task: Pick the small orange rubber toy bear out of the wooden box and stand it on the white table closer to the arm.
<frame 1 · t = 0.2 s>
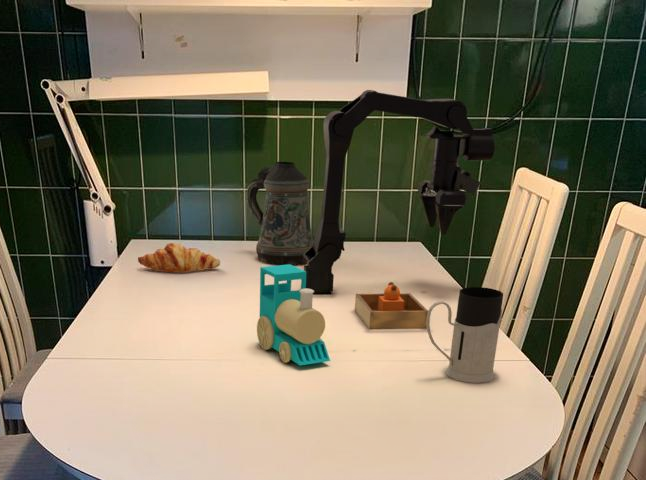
hand: (437, 230, 193), 15 cm above the table, tool pointing down, fingers open, 9 cm apart
wooden box: (389, 321, 177), on the table
croissant: (179, 270, 213), on the table
glass holder: (456, 376, 149), on the table
toy train: (293, 355, 156), on the table
toy bear: (389, 318, 177), point 1 cm above the table, touching wooden box
beer stein: (280, 259, 227), on the table
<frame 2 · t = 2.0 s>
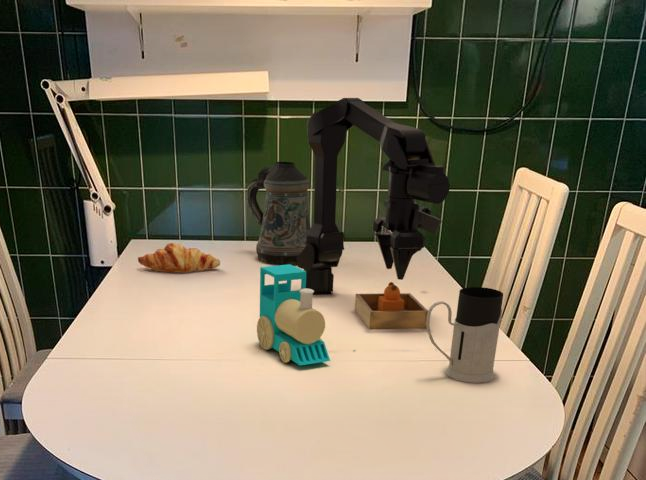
hand: (394, 273, 173), 10 cm above the table, tool pointing down, fingers open, 9 cm apart
nothing on the table moved.
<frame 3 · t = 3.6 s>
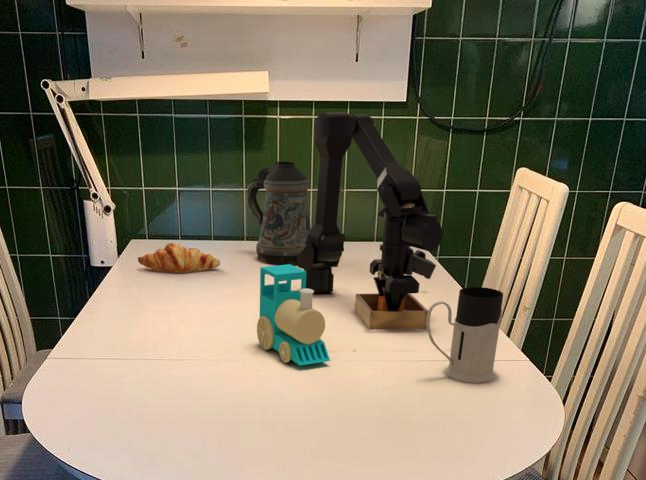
hand: (389, 315, 177), 1 cm above the table, tool pointing down, fingers closed on toy bear, 4 cm apart
toy bear: (389, 318, 177), point 1 cm above the table, touching wooden box, gripper
everything else where it was.
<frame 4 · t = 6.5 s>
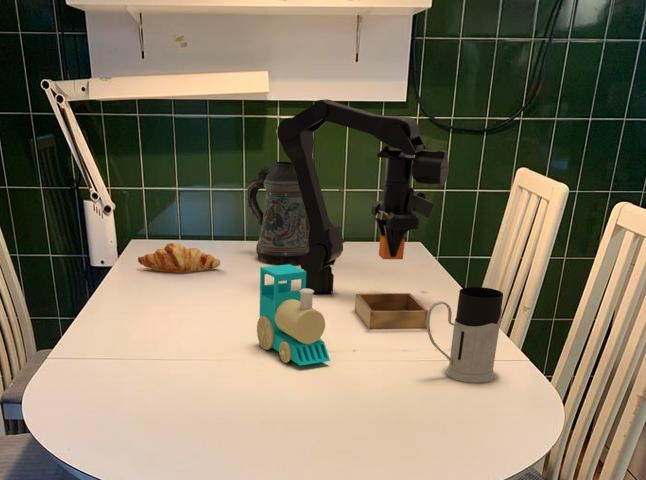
hand: (390, 254, 184), 11 cm above the table, tool pointing down, fingers closed on toy bear, 4 cm apart
toy bear: (390, 257, 184), point 11 cm above the table, touching gripper
everything else where it was.
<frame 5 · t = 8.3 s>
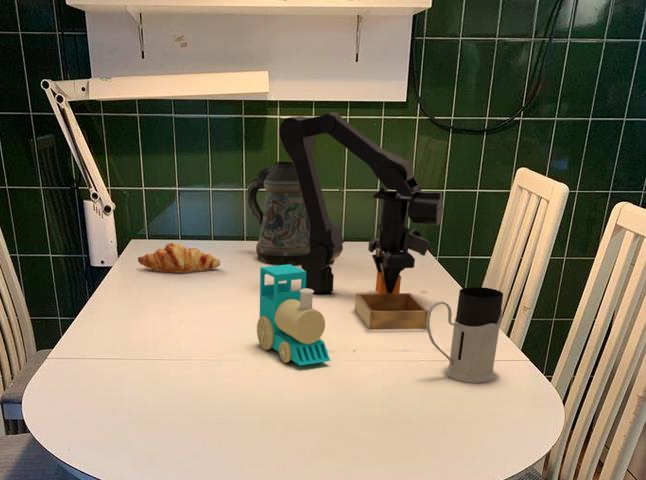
hand: (387, 290, 189), 3 cm above the table, tool pointing down, fingers closed on toy bear, 4 cm apart
toy bear: (387, 293, 189), point 2 cm above the table, touching gripper
everything else where it was.
when the fingers open (1 cm above the table, at t = 9.3 s): toy bear stays where it is, on the table.
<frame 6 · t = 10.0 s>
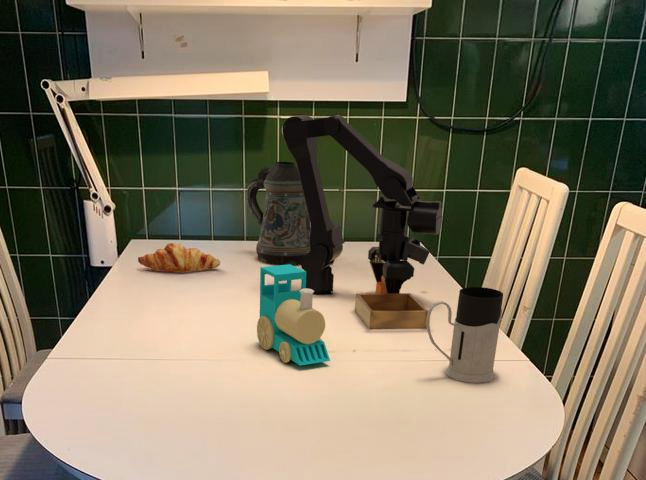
hand: (387, 299, 190), 1 cm above the table, tool pointing down, fingers open, 9 cm apart
toy bear: (386, 302, 190), on the table
everything else where it was.
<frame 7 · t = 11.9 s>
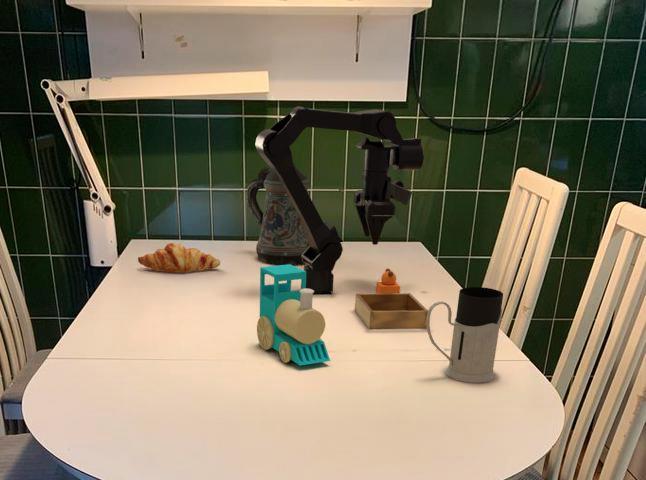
hand: (371, 240, 194), 12 cm above the table, tool pointing down, fingers open, 9 cm apart
nothing on the table moved.
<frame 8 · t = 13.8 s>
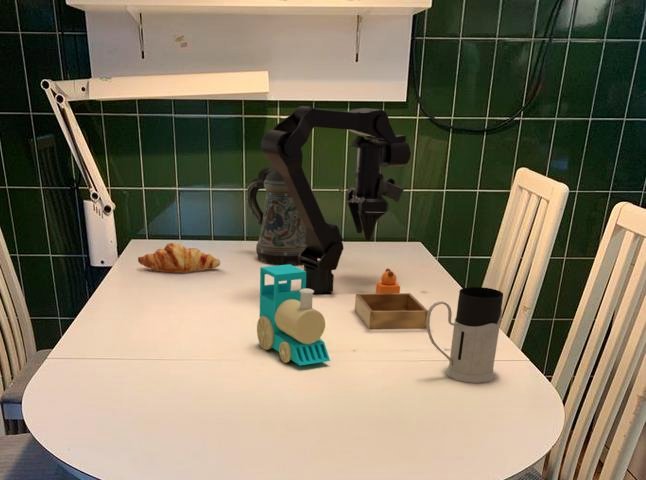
hand: (363, 236, 198), 12 cm above the table, tool pointing down, fingers open, 9 cm apart
nothing on the table moved.
at the end: toy bear inside the target area (0.0 cm from its centre), on the table; toy bear tilted 0°; the gripper is holding nothing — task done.
